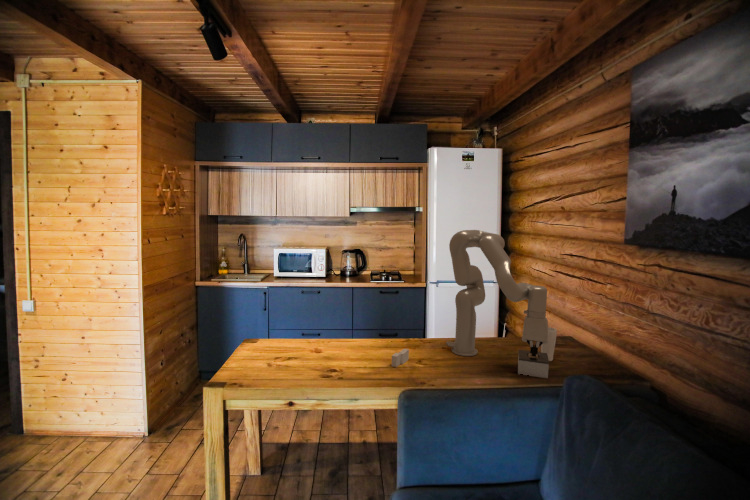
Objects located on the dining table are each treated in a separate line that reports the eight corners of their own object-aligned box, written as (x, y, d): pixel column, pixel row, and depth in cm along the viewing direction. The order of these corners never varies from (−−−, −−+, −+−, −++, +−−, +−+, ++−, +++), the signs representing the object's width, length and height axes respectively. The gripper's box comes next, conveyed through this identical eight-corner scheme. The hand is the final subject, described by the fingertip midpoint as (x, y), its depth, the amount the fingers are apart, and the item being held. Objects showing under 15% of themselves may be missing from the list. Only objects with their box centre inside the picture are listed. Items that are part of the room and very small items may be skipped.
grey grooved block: (407, 357, 198) (407, 345, 198) (419, 366, 188) (419, 353, 188) (378, 361, 192) (378, 349, 192) (389, 370, 182) (390, 358, 181)
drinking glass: (555, 362, 195) (558, 331, 194) (540, 361, 197) (542, 330, 195) (552, 357, 202) (555, 327, 200) (538, 356, 203) (540, 326, 202)
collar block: (517, 374, 181) (518, 358, 180) (517, 364, 192) (518, 349, 191) (547, 378, 177) (548, 362, 176) (546, 368, 188) (547, 353, 187)
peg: (527, 369, 183) (528, 356, 182) (527, 366, 187) (528, 353, 186) (537, 370, 182) (538, 357, 181) (537, 367, 186) (538, 354, 185)
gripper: (518, 314, 181) (515, 355, 182) (555, 318, 176) (552, 360, 178) (518, 310, 188) (515, 350, 190) (554, 314, 183) (551, 354, 185)
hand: (533, 355), depth 184 cm, fingers closed
